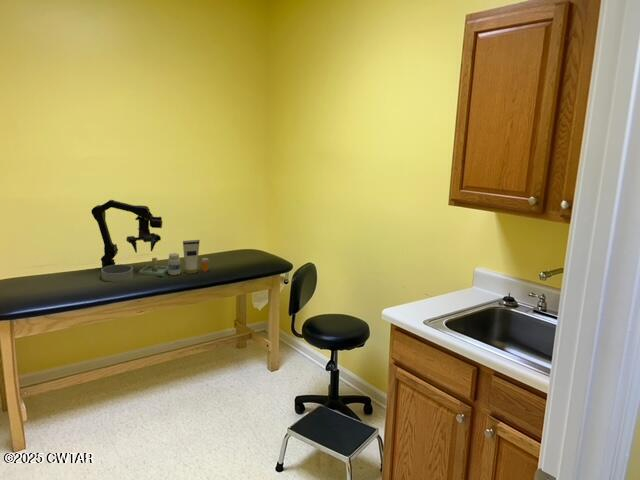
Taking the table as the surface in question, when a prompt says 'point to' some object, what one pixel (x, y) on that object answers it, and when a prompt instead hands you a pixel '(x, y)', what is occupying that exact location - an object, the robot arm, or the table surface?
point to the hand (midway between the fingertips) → (143, 252)
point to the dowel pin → (154, 265)
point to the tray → (160, 272)
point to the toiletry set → (187, 259)
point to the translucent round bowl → (117, 273)
